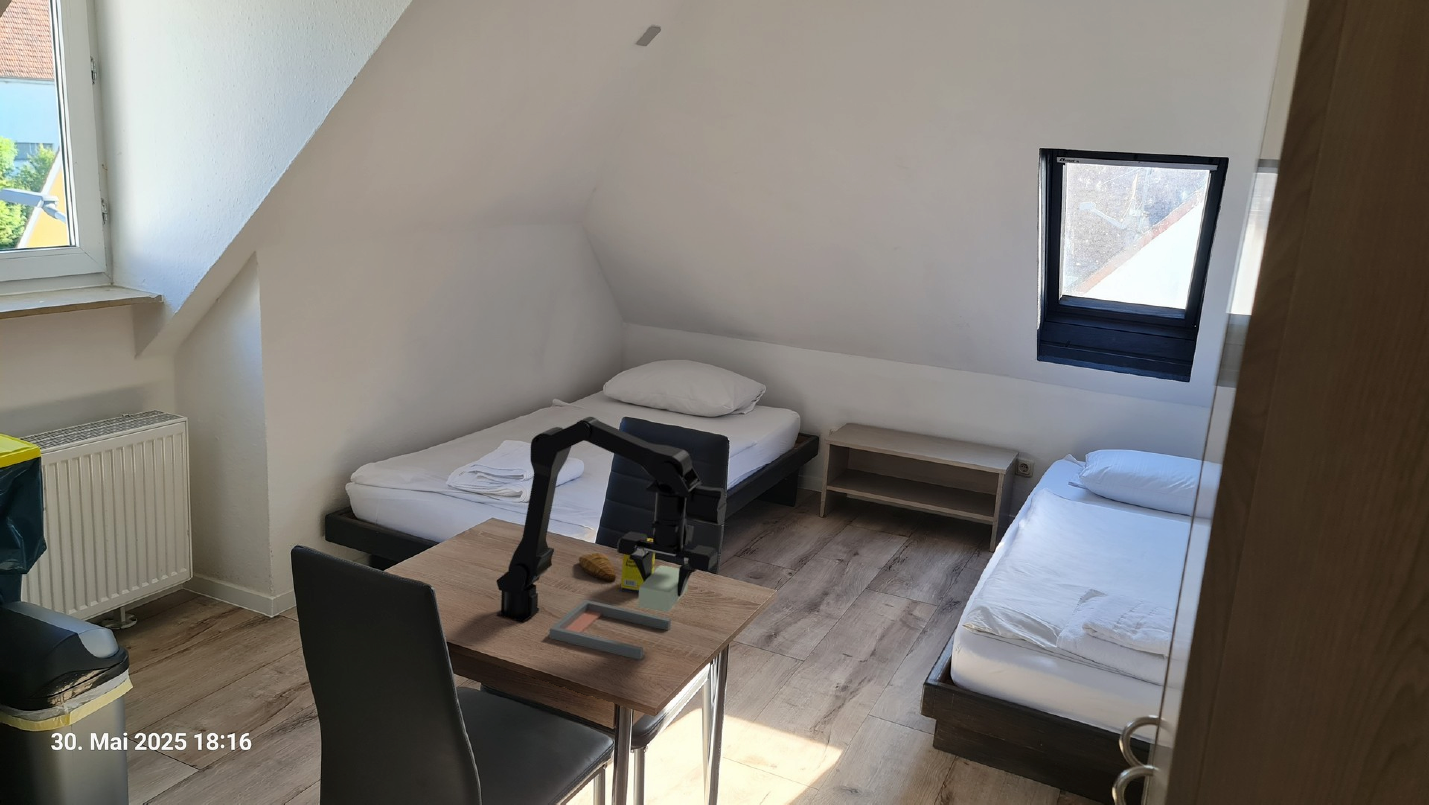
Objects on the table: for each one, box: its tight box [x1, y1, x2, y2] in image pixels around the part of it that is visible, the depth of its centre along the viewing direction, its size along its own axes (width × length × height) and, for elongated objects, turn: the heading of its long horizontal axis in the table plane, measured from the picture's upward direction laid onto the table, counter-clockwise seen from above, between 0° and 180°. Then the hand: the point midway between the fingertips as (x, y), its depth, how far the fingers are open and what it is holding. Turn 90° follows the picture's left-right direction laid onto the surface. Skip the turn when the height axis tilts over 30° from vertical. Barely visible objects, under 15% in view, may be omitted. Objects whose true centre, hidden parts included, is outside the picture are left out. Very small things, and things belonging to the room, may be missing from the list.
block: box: [637, 564, 689, 614], centre depth 190 cm, size 6×12×4 cm, turn 164°
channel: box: [548, 599, 672, 661], centre depth 196 cm, size 19×15×2 cm
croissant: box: [578, 552, 617, 583], centre depth 225 cm, size 14×7×5 cm, turn 40°
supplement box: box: [620, 537, 656, 594], centre depth 218 cm, size 6×6×11 cm
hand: (664, 592), depth 191 cm, fingers closed on block, 6 cm apart
